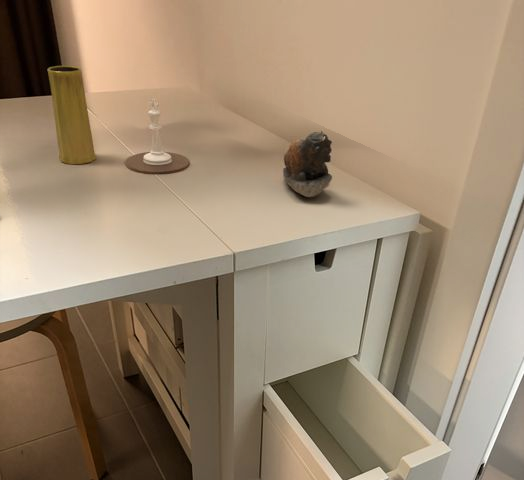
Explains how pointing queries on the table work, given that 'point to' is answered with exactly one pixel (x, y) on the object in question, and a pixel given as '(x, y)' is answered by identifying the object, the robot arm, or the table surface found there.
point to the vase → (71, 115)
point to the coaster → (138, 165)
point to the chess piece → (156, 140)
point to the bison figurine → (308, 164)
